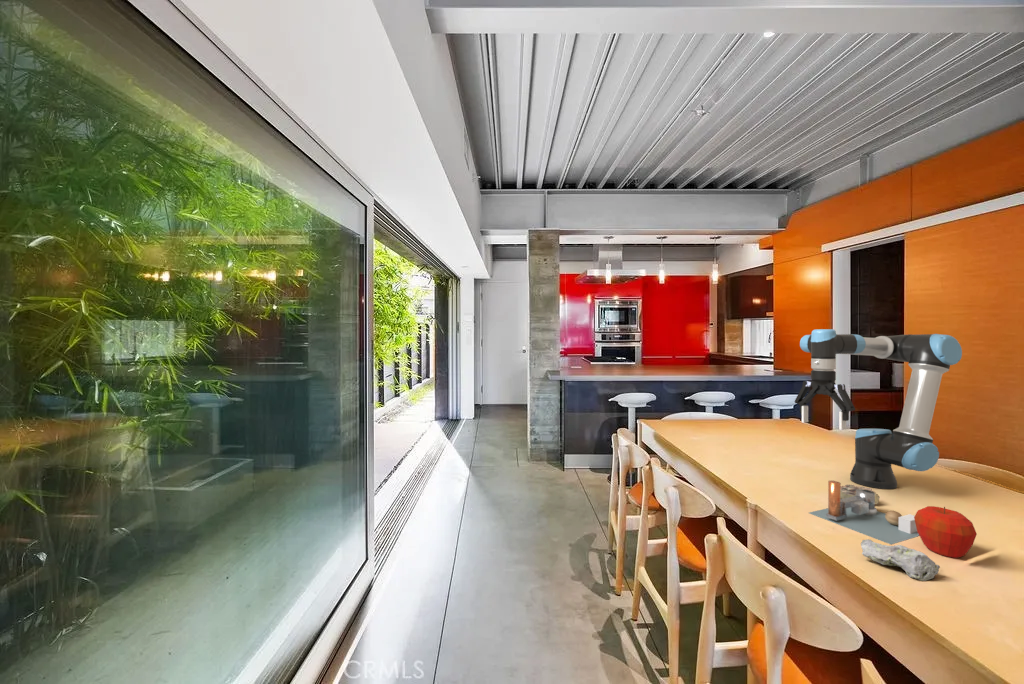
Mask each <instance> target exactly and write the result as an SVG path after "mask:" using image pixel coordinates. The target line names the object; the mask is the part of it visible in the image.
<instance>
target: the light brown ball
mask: <svg viewBox="0 0 1024 684" xmlns="http://www.w3.org/2000/svg"><path fill="white" fill-rule="evenodd" d="M885 514H886V515H885V518H886V520H887V521H888V522H889V523H890V524H892V525H899V517H901V516H903V515H902V514H901V513H900V512H898V511H896V510H889V511H887V512H885Z"/></svg>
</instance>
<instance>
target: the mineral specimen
mask: <svg viewBox="0 0 1024 684" xmlns="http://www.w3.org/2000/svg"><path fill="white" fill-rule="evenodd" d="M860 546H861V549H862V552H861V555H863V556H864V557H865V558H869V559H871V561H873V562H876V563H877V564H881V565H883V566H887V567H889V566H890V567H892V566H893V567H897V568H901V569H902V570H903V571H905V573H906V575H907V576H908V577H909V578H912V579H916V580H919V581H920V582H923V581H929V580H932V579H934V578H935V576H936V575H938V574H939V571H940V568H941V566H940V565H939V564H937V563H936V562H935V561H933V559H931V558H930V557H929V556H928V555H926V553H924V552H922V551H920V550H917V549H914V548H908V547H907V546H904V545H902V544H897V545H886V544H882V543H878V542H875V541H873V540H871V539H870V538H868V539H867V538H866V539H862V541H861V543H860Z"/></svg>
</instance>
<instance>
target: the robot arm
mask: <svg viewBox="0 0 1024 684" xmlns="http://www.w3.org/2000/svg"><path fill="white" fill-rule="evenodd" d="M799 347H800V349H801V350H802V351H803V352H805V353H810V358H811V359H810V360H811V361H810V364H811V365H810V368H811V370H810V378H811V381H810V380H803V382H802V387H800V390H799V392H798V393H797V395H796V398H795V399H794V404H796V405H797V404H798V405H799V414H800V415H801V423H803V424H804V423H809V405H808V403H809V402H810V401H811V400H812V399H813V398H814V397H815V396H816V395H825V396H828V397H830V398H831V399H832V400H833V402H834V404H836V405H837V407H838V408H839V409H840V411H839V413H838V414H839V416H838V419H839V420H838V425H839V426H838V429H839V430H841V431H843V430H847V422H848V421H849V419H850V417H849V416H850V415H849V414H850V412H853V411H854V412H855V410H856V407H855V406H854V404H853V402H852V400H851V398H850V396H849V394H848V392H847V390H846V389H847V388H846V385H845V384H844V383H841V384H840V383H839V384H836V379H837V378H836V377H837V376H836V375H837V373H836V372H837V371H835V370H836V369H837V368H836V365H837V362H836V361H837V355H855V356H872V357H875V358H877V359H882V360H883V359H884V360H885V359H886V360H892V361H897V362H905V363H908V364H907V365H908V367H910V369H911V375H910V379H909V382H908V387H907V392H906V396H905V399H904V404H903V408H902V413H901V417H900V421H899V425H898V427H896V428H895V429H893V430H891V429H886V428H885V429H884V428H859V429H856V431H855V437H854V456H855V459H854V460H855V461H854V462H855V463H854V464H853V466H852V469H851V471H850V473H849V479H850V481H851V482H853V483H855V484H858V485H861V486H863V487H867V488H868V487H869V488H875V489H882V490H883V489H884V490H893V489H897V487H898V481H897V478H896V476H895V473H894V470H893V468H892V465H893V466H897V467H901V468H903V469H907V470H909V471H912V470H913V471H917V472H926V471H928V470H930V469H933V468H934V467H935V465H936V464H937V462H938V460H939V457H940V451H939V448H938V447H937V446H936V445H935V444H934V443H933V442H934V439H933V437H932V436H931V435H930V430H931V426H932V422H933V421H932V420H933V418H934V412H935V407H936V404H937V399H938V395H939V391H940V386H941V382H942V378H943V374H945V373H948V372H949V371H950V367H951V366H953V365H957V364H958V363H959V362H960V361H961V360H962V357H963V348H962V346H961V343H959V341H958V339H956V337H954V336H952V335H949V334H940V333H931V334H930V333H927V334H925V333H924V334H923V333H922V334H913V333H912V334H911V333H910V334H908V333H907V334H899V335H888V336H887V335H880V336H876V337H863V336H862V335H860V334H856V333H855V334H853V333H845V334H843V333H841V334H838V333H837V332H836V330H835V329H832V328H830V329H829V328H828V329H827V328H826V329H823V328H821V329H813V330H812V331H811V334H805V335H803V336H802V337H801V338H800V341H799ZM810 387H811V388H812V389H810ZM809 389H810V391H809ZM836 390H837V391H836ZM808 391H809V392H808ZM807 392H808V393H807ZM838 394H839V395H838Z"/></svg>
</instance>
